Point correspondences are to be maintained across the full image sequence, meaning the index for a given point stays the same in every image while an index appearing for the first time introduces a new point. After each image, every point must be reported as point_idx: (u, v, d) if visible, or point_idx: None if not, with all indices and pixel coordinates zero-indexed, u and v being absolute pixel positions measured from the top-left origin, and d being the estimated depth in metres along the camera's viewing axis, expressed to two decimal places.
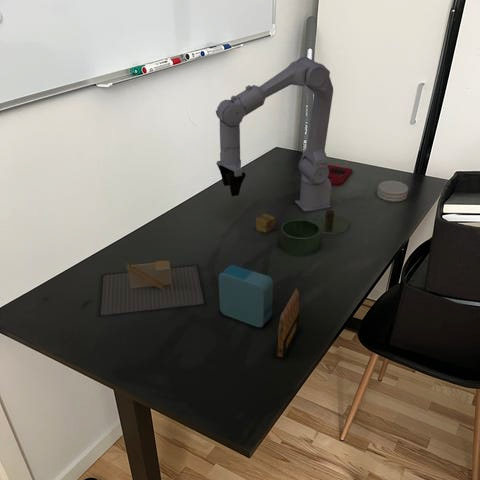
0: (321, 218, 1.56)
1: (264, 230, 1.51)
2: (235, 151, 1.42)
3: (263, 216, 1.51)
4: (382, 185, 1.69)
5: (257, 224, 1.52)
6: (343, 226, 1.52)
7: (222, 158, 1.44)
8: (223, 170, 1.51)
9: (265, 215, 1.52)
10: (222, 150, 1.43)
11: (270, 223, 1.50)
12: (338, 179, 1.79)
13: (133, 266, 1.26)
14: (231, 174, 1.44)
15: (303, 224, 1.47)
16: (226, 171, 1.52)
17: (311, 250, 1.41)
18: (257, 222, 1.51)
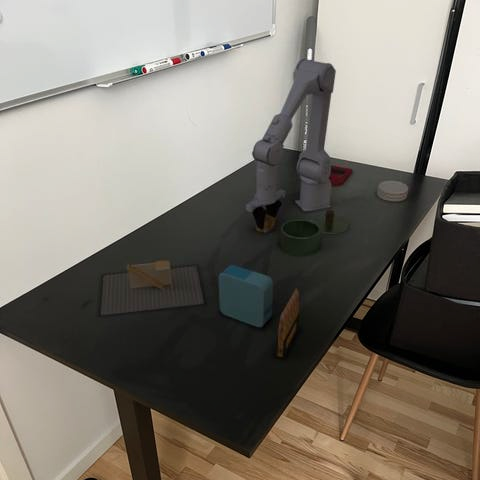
0: (321, 218, 1.56)
1: (264, 230, 1.51)
2: (261, 189, 1.42)
3: None
4: (382, 185, 1.69)
5: None
6: (343, 226, 1.52)
7: None
8: (267, 207, 1.51)
9: None
10: None
11: (269, 223, 1.50)
12: (338, 179, 1.79)
13: (133, 266, 1.26)
14: None
15: (303, 224, 1.47)
16: (270, 209, 1.51)
17: (311, 250, 1.41)
18: None
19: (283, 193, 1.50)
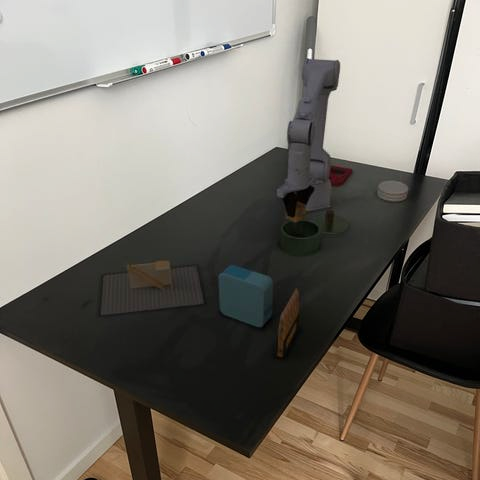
0: (321, 218, 1.56)
1: (295, 218, 1.39)
2: (293, 173, 1.31)
3: None
4: (382, 185, 1.69)
5: None
6: (343, 226, 1.52)
7: None
8: (298, 193, 1.40)
9: None
10: None
11: (301, 210, 1.39)
12: (338, 179, 1.79)
13: (133, 266, 1.26)
14: None
15: (303, 224, 1.47)
16: (301, 196, 1.39)
17: (311, 250, 1.41)
18: None
19: (316, 178, 1.39)
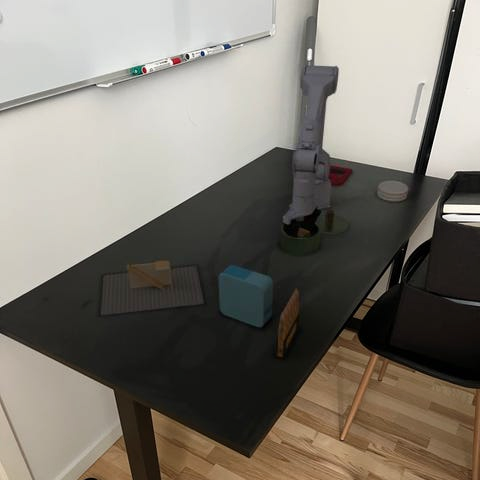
0: (321, 218, 1.56)
1: None
2: (299, 200, 1.34)
3: None
4: (382, 185, 1.69)
5: None
6: (343, 226, 1.52)
7: None
8: (305, 216, 1.44)
9: (299, 229, 1.44)
10: None
11: (305, 237, 1.43)
12: (338, 179, 1.79)
13: (133, 266, 1.26)
14: None
15: (303, 224, 1.47)
16: (308, 218, 1.43)
17: (311, 250, 1.41)
18: None
19: (319, 203, 1.42)
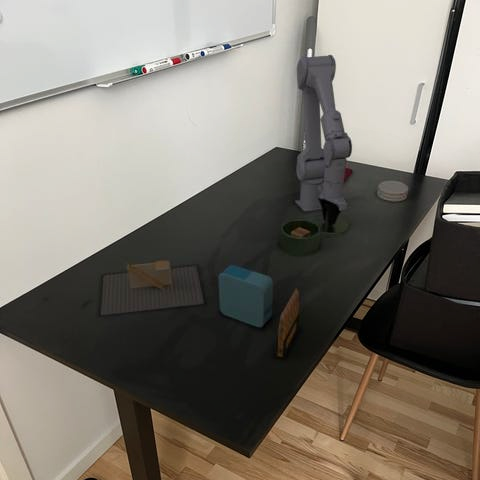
0: (321, 218, 1.56)
1: None
2: (340, 185, 1.43)
3: (297, 230, 1.44)
4: (382, 185, 1.69)
5: None
6: (343, 226, 1.52)
7: (325, 192, 1.45)
8: (325, 205, 1.51)
9: (299, 229, 1.44)
10: (327, 184, 1.44)
11: (305, 237, 1.43)
12: None
13: (133, 266, 1.26)
14: (331, 204, 1.47)
15: (303, 224, 1.47)
16: None
17: (311, 250, 1.41)
18: None
19: None
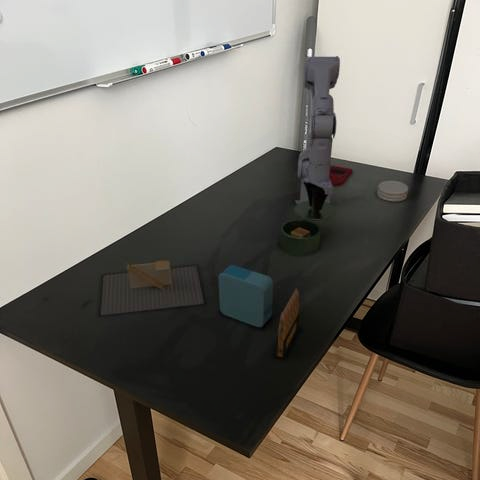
0: (307, 204, 1.46)
1: None
2: (326, 167, 1.34)
3: (297, 230, 1.44)
4: (382, 185, 1.69)
5: None
6: (330, 212, 1.42)
7: (311, 175, 1.36)
8: (311, 190, 1.41)
9: (299, 229, 1.44)
10: (312, 166, 1.34)
11: (305, 237, 1.43)
12: (338, 179, 1.79)
13: (133, 266, 1.26)
14: (317, 188, 1.37)
15: (303, 224, 1.47)
16: None
17: (311, 250, 1.41)
18: None
19: None
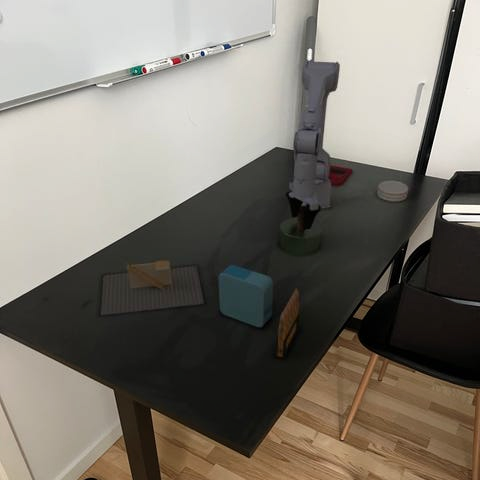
0: (293, 221, 1.45)
1: None
2: (311, 183, 1.31)
3: None
4: (382, 185, 1.69)
5: None
6: (316, 230, 1.41)
7: (296, 190, 1.33)
8: (293, 201, 1.41)
9: None
10: (296, 181, 1.32)
11: None
12: (338, 179, 1.79)
13: (133, 266, 1.26)
14: (306, 207, 1.33)
15: None
16: (296, 202, 1.41)
17: (311, 250, 1.41)
18: None
19: None
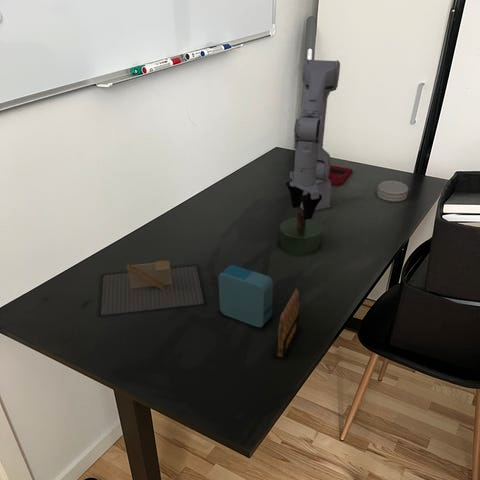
0: (293, 221, 1.45)
1: None
2: (312, 171, 1.29)
3: None
4: (382, 185, 1.69)
5: None
6: (316, 230, 1.41)
7: (296, 179, 1.31)
8: (293, 191, 1.39)
9: None
10: (297, 170, 1.30)
11: None
12: (338, 179, 1.79)
13: (133, 266, 1.26)
14: (306, 196, 1.31)
15: None
16: (296, 192, 1.39)
17: (311, 250, 1.41)
18: None
19: None
